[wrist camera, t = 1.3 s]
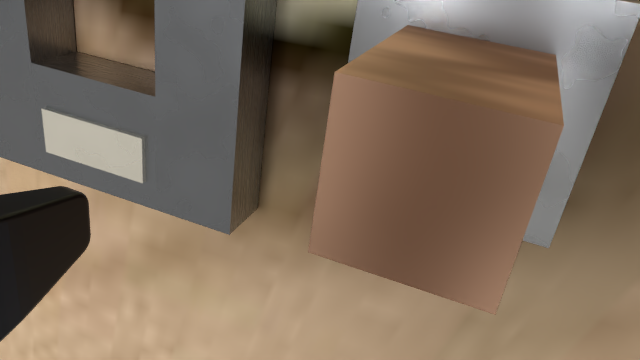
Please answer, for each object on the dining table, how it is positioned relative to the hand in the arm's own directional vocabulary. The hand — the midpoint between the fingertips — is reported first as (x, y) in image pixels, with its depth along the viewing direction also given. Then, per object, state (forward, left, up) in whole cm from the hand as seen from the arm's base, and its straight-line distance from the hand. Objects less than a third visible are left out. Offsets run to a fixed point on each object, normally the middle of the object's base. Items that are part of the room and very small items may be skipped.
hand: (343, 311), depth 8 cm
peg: (0, 0, -11) cm, 11 cm away
